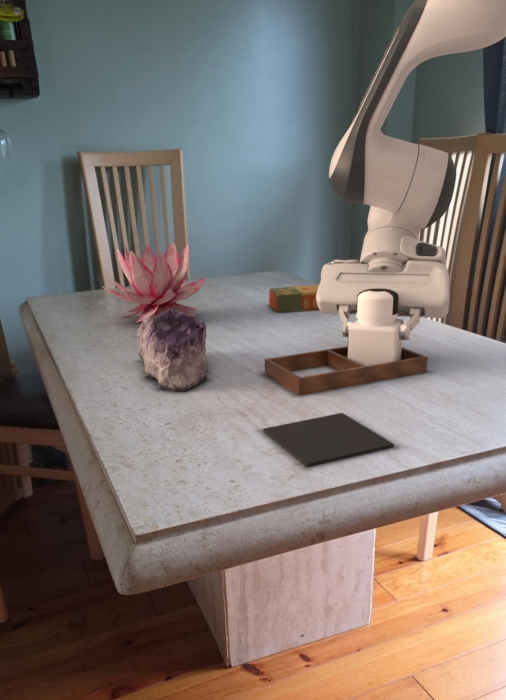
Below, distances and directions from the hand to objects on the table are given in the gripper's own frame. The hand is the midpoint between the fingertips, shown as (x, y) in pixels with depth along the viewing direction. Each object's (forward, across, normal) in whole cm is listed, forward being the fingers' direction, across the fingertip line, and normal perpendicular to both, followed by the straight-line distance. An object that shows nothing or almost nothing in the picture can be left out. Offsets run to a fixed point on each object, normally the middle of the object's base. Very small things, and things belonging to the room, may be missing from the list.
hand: (375, 336), depth 94 cm
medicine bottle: (+3, 0, +4) cm, 5 cm away
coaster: (+24, -1, -16) cm, 29 cm away
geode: (+10, -29, -2) cm, 31 cm away
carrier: (+6, -4, +2) cm, 7 cm away
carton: (-27, -22, +35) cm, 49 cm away
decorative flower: (-14, -50, +21) cm, 56 cm away
